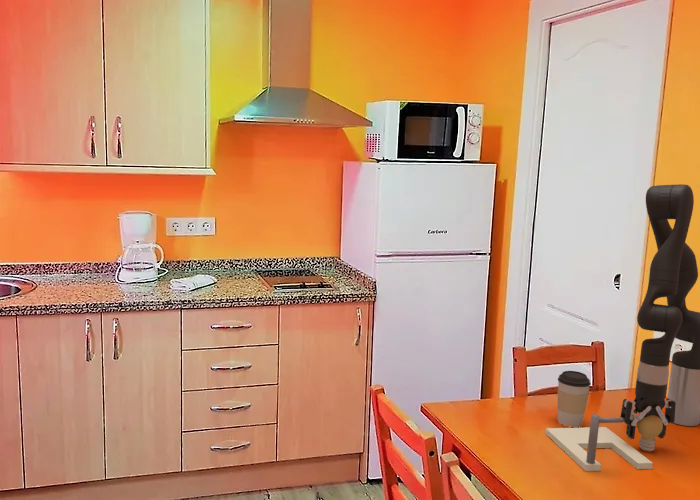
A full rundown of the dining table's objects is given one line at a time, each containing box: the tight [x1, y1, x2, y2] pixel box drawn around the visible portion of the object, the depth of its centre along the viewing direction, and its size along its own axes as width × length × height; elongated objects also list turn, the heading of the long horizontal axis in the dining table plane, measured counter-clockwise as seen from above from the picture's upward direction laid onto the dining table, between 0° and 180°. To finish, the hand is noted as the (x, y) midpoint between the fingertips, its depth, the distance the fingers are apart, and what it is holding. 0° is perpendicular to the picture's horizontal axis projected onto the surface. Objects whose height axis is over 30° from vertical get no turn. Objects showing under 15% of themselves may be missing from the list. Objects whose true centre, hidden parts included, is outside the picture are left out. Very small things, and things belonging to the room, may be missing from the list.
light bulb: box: [635, 415, 663, 452], centre depth 180 cm, size 6×6×10 cm
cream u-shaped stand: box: [544, 413, 654, 472], centre depth 178 cm, size 18×22×14 cm
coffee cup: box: [557, 370, 592, 428], centre depth 195 cm, size 9×9×15 cm
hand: (645, 437), depth 181 cm, fingers open, 8 cm apart
